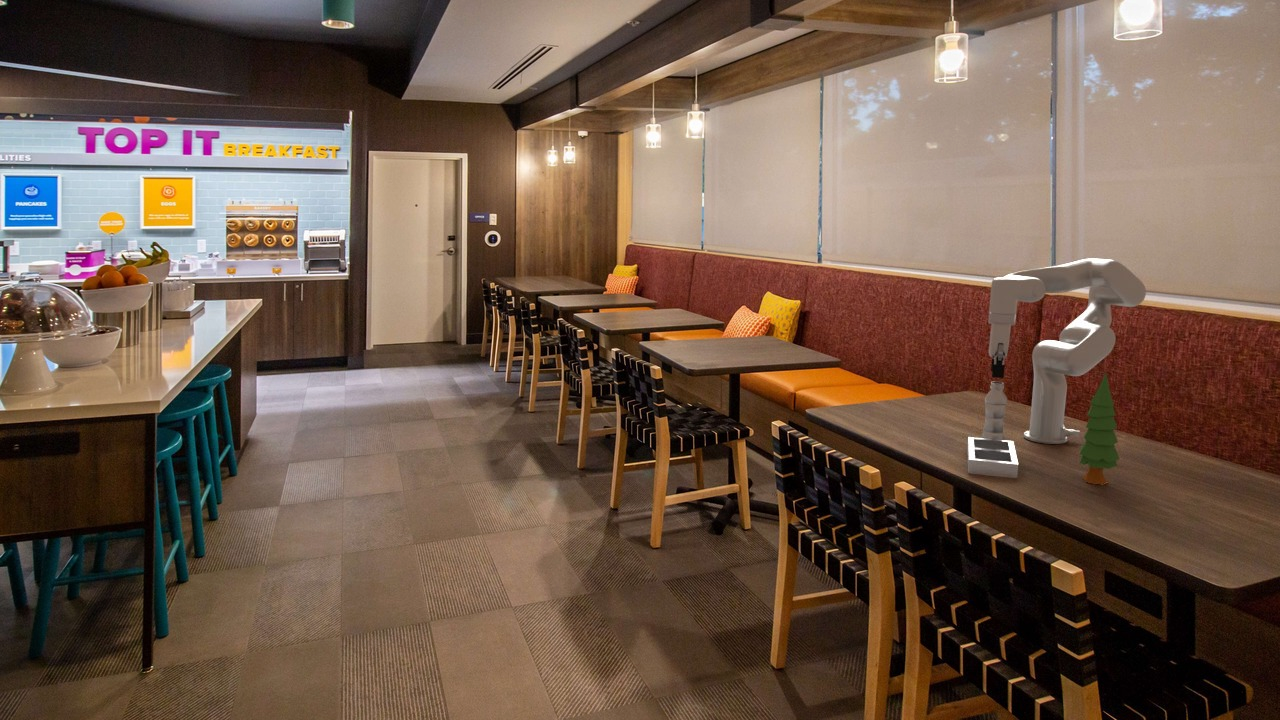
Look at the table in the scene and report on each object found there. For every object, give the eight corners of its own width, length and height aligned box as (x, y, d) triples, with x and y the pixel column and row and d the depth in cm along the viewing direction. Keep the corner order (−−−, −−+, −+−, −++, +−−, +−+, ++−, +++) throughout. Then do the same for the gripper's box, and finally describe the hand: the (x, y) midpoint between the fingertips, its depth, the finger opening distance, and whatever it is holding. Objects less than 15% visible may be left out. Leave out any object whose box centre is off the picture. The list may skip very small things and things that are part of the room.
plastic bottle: (1002, 443, 260) (1007, 381, 257) (1004, 449, 254) (1009, 385, 250) (980, 442, 263) (985, 379, 259) (981, 447, 256) (986, 384, 253)
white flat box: (1012, 453, 250) (1013, 441, 249) (1017, 478, 228) (1018, 464, 227) (967, 449, 254) (968, 437, 254) (968, 473, 232) (969, 459, 232)
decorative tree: (1100, 475, 230) (1111, 369, 225) (1125, 486, 221) (1137, 376, 216) (1068, 477, 229) (1078, 370, 223) (1092, 489, 220) (1103, 377, 214)
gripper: (987, 314, 260) (983, 368, 263) (989, 321, 244) (984, 379, 247) (1013, 316, 258) (1008, 370, 261) (1017, 323, 242) (1012, 381, 245)
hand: (997, 374), depth 254 cm, fingers open, 9 cm apart
